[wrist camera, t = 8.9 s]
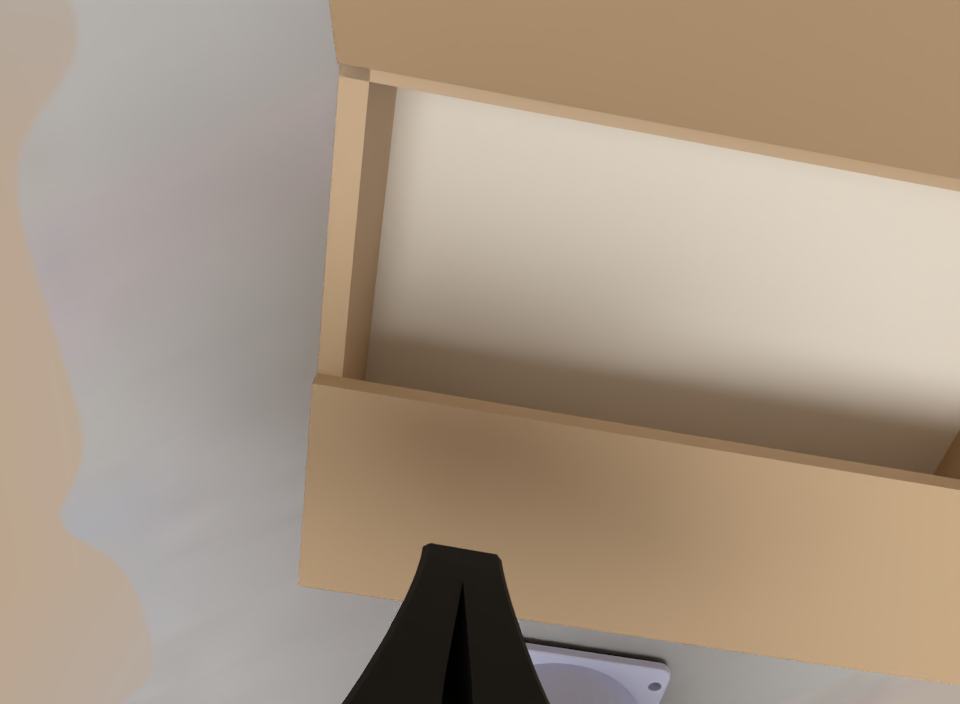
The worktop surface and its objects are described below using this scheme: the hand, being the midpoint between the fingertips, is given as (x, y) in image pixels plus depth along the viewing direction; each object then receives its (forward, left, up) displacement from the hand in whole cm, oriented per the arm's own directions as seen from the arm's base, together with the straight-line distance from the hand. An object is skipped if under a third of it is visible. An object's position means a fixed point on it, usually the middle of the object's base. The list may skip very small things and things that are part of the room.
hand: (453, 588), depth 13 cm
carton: (+1, -6, -10) cm, 12 cm away
